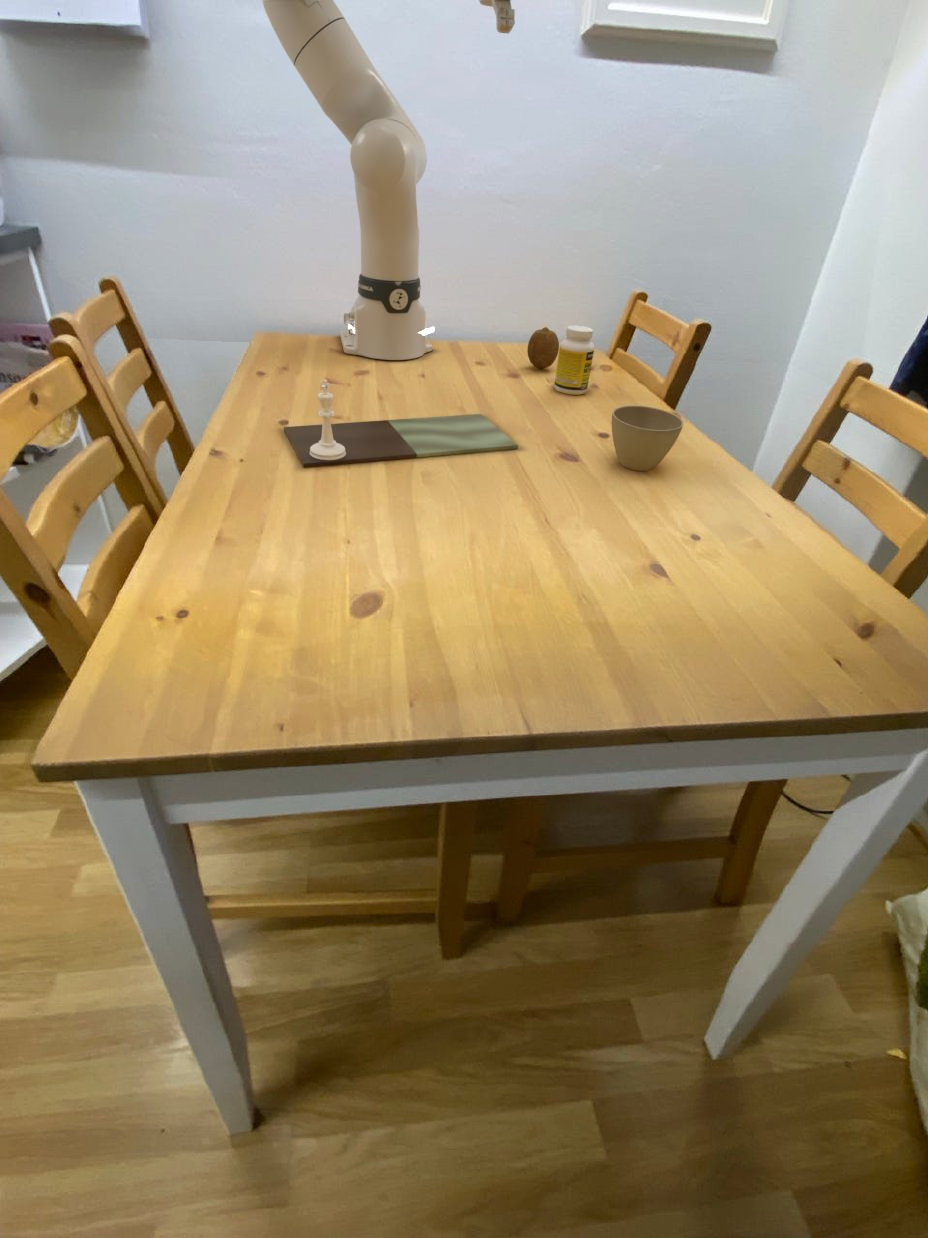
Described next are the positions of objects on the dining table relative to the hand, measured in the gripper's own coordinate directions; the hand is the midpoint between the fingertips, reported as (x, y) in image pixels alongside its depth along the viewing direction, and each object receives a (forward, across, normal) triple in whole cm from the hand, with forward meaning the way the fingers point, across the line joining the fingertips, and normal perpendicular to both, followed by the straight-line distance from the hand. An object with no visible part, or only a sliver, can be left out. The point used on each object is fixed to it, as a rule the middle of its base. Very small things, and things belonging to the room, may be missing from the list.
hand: (519, 5), depth 77 cm
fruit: (+33, -54, +23) cm, 67 cm away
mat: (+46, -20, -13) cm, 52 cm away
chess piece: (+48, -14, -24) cm, 55 cm away
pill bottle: (+38, -41, +24) cm, 61 cm away
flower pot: (+51, -8, +20) cm, 56 cm away
